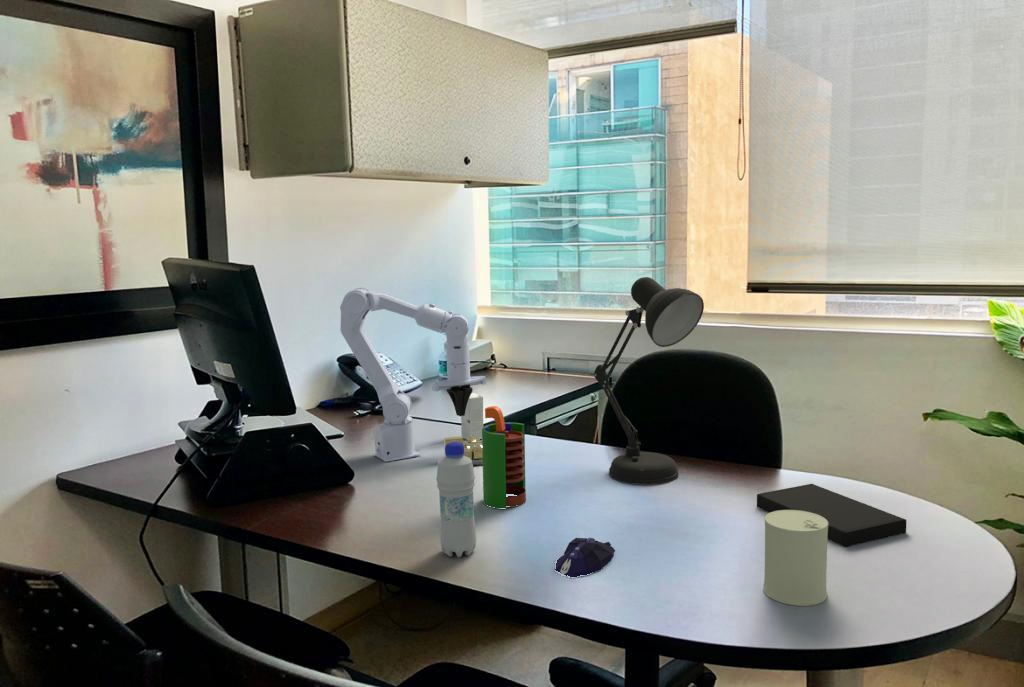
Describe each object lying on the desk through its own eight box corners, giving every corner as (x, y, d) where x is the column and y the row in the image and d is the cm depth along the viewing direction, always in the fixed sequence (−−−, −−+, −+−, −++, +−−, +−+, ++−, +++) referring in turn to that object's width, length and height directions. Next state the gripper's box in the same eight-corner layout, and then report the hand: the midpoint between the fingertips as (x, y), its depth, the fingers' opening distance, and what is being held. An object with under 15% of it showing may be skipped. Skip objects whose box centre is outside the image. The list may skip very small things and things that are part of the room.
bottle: (458, 542, 146) (453, 435, 144) (485, 550, 142) (481, 440, 139) (431, 554, 141) (426, 444, 139) (459, 563, 137) (454, 449, 134)
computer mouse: (534, 571, 134) (533, 548, 133) (584, 542, 145) (584, 521, 145) (580, 585, 128) (580, 561, 127) (629, 554, 139) (628, 532, 139)
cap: (463, 469, 191) (463, 455, 191) (440, 456, 203) (440, 443, 202) (510, 460, 198) (510, 446, 197) (486, 448, 209) (485, 435, 208)
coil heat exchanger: (521, 510, 162) (518, 413, 159) (478, 508, 164) (474, 413, 161) (530, 493, 172) (527, 402, 169) (489, 492, 174) (486, 402, 171)
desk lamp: (703, 494, 168) (703, 279, 161) (580, 489, 174) (576, 281, 167) (704, 461, 191) (704, 272, 185) (596, 457, 197) (592, 274, 191)
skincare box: (460, 437, 221) (458, 394, 220) (475, 434, 224) (473, 392, 222) (470, 442, 216) (468, 398, 214) (485, 439, 218) (483, 395, 216)
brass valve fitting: (506, 452, 199) (505, 435, 199) (467, 462, 191) (466, 445, 191) (478, 444, 208) (477, 428, 207) (439, 454, 199) (438, 437, 199)
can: (803, 612, 116) (804, 533, 114) (750, 590, 123) (751, 515, 122) (839, 594, 121) (841, 518, 120) (787, 574, 129) (788, 502, 127)
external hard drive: (845, 549, 139) (845, 532, 138) (756, 508, 160) (756, 493, 159) (905, 535, 144) (906, 519, 144) (812, 497, 165) (812, 483, 165)
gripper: (475, 357, 209) (477, 408, 211) (425, 363, 202) (427, 416, 204) (489, 360, 203) (491, 413, 205) (437, 367, 196) (440, 421, 198)
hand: (460, 415), depth 204 cm, fingers closed
